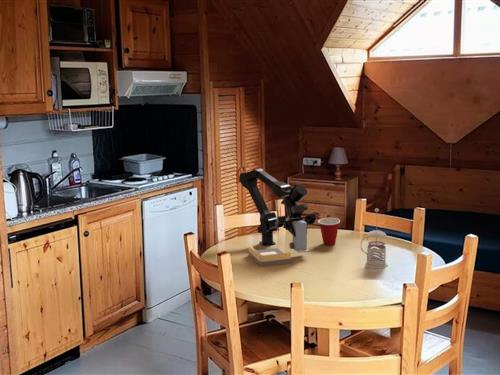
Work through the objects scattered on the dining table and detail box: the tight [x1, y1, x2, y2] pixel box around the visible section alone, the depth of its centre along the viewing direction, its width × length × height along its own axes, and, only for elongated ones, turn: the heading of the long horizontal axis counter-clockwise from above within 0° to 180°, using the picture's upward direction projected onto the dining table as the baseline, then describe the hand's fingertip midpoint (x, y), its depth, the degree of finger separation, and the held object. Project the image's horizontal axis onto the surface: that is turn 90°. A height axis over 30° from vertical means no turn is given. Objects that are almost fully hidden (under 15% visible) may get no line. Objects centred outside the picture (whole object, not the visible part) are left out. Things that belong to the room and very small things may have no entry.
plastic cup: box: [317, 217, 341, 246], centre depth 289 cm, size 11×11×12 cm
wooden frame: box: [248, 245, 292, 267], centre depth 267 cm, size 18×14×4 cm
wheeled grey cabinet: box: [288, 220, 309, 254], centre depth 268 cm, size 8×7×13 cm
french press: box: [360, 208, 389, 269], centre depth 253 cm, size 10×12×25 cm
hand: (300, 235), depth 268 cm, fingers closed on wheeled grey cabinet, 5 cm apart
